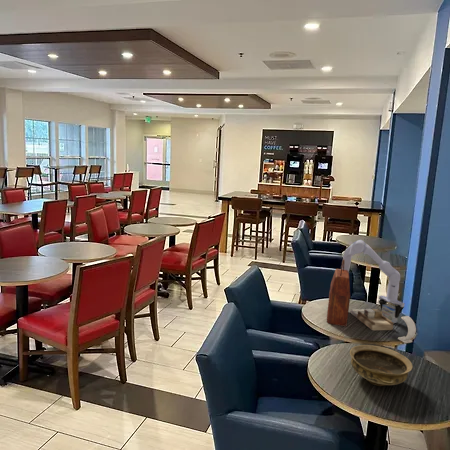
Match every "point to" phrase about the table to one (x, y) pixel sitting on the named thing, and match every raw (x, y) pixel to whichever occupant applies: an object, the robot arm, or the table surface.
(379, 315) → the bronze cube
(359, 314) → the sweep station
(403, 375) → the ceramic bowl
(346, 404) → the table surface
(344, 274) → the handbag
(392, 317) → the medicine box
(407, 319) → the headphone stand
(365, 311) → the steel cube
